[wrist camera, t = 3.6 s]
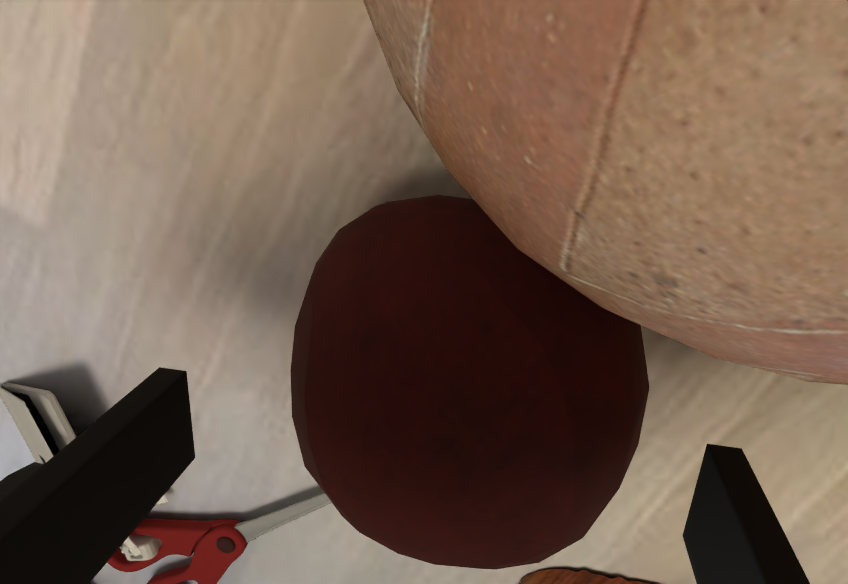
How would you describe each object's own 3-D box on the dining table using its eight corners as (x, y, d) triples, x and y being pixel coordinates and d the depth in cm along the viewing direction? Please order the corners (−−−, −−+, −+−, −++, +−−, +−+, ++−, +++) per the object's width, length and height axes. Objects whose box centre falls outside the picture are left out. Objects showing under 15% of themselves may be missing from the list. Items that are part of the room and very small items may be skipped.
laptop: (149, 520, 27) (107, 552, 26) (94, 497, 31) (54, 523, 29) (77, 377, 25) (27, 403, 24) (27, 369, 29) (-20, 391, 27)
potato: (466, 96, 20) (378, 129, 12) (729, 327, 20) (799, 497, 13) (285, 328, 25) (145, 452, 17) (497, 509, 25) (448, 706, 18)
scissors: (101, 530, 30) (86, 545, 29) (328, 424, 25) (320, 438, 24) (170, 611, 31) (158, 628, 30) (399, 525, 26) (394, 542, 25)
